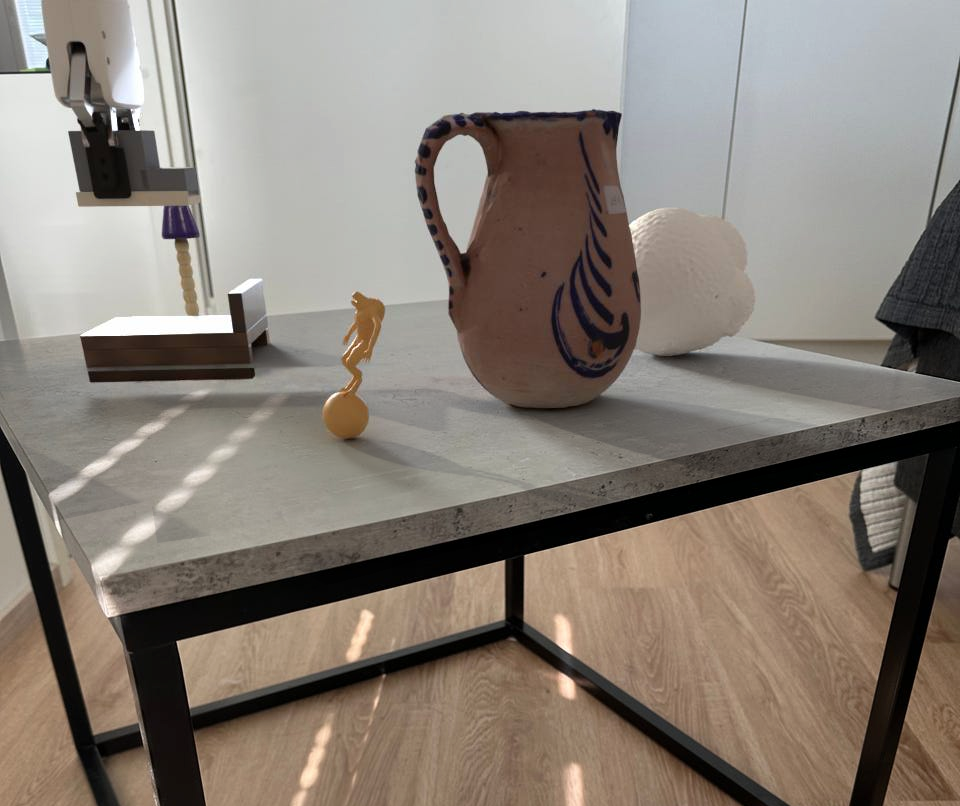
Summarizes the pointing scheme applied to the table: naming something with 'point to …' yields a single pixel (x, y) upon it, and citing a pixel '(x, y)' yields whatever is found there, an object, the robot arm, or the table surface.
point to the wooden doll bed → (181, 342)
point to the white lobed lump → (689, 281)
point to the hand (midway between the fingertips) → (122, 194)
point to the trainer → (138, 174)
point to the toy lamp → (182, 249)
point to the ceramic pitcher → (540, 255)
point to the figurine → (355, 370)
